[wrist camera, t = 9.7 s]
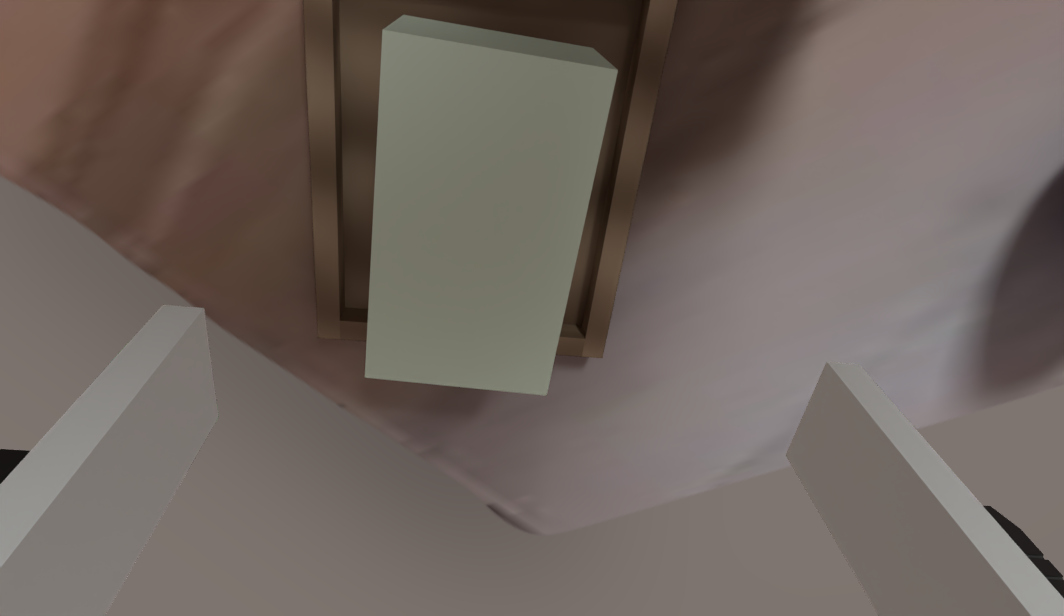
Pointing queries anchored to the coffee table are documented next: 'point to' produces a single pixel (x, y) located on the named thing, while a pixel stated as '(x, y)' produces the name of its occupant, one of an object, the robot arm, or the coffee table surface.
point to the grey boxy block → (479, 201)
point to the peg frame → (352, 120)
